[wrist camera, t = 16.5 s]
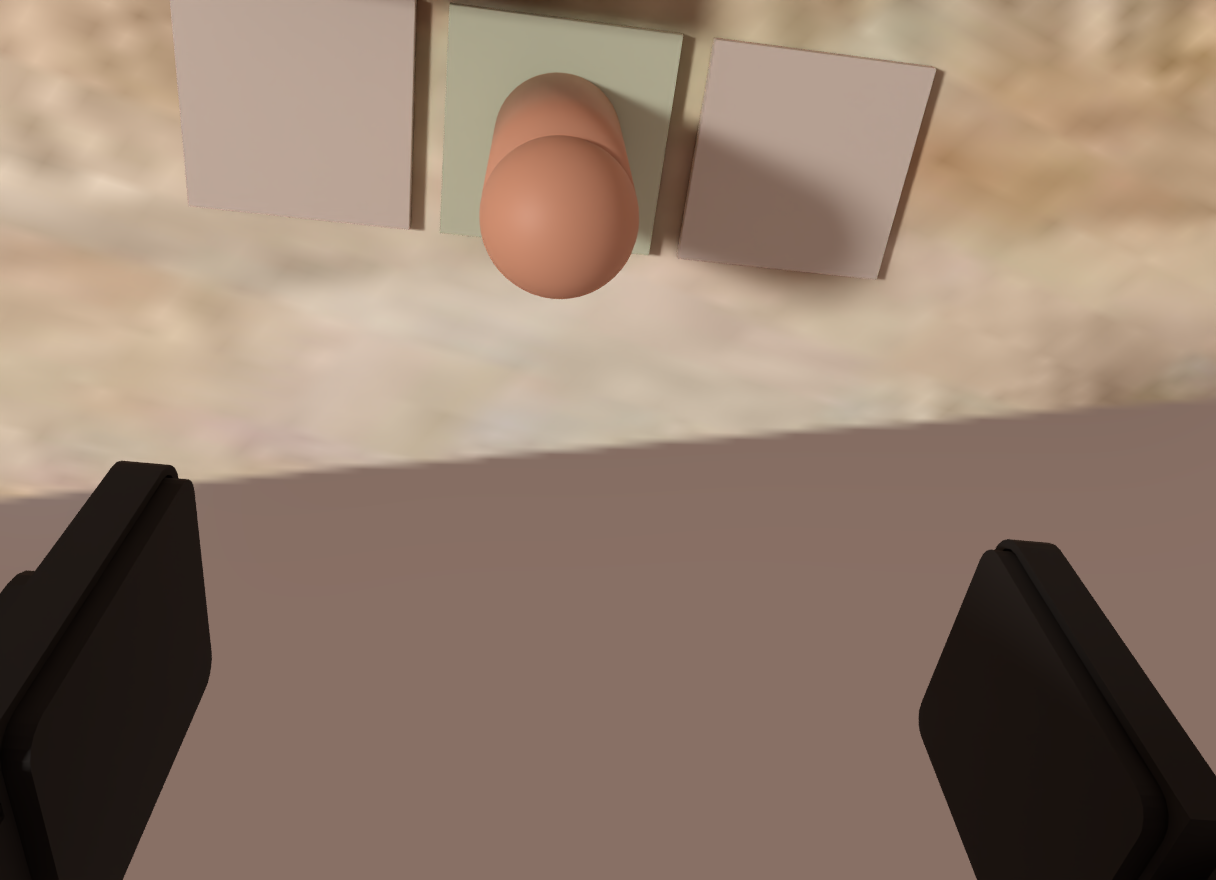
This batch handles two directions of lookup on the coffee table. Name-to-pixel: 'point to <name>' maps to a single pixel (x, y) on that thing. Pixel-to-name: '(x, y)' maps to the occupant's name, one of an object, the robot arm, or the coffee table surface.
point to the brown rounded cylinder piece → (558, 189)
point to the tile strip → (485, 76)
